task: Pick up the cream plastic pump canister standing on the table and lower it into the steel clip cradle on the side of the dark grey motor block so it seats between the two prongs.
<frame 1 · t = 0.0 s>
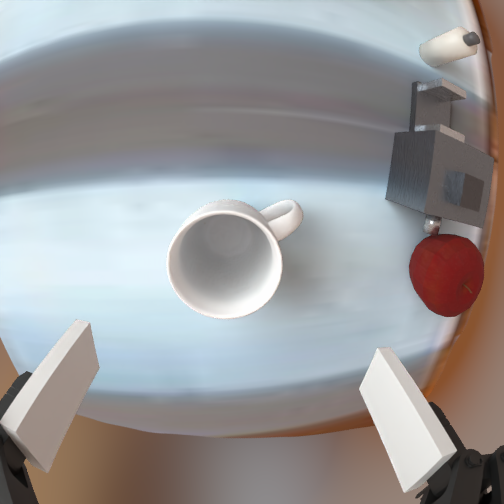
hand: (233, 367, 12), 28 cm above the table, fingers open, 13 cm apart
apple: (422, 256, 41), on the table, touching motor
motor: (421, 174, 37), on the table
pump: (429, 55, 30), on the table
mug: (235, 228, 39), on the table
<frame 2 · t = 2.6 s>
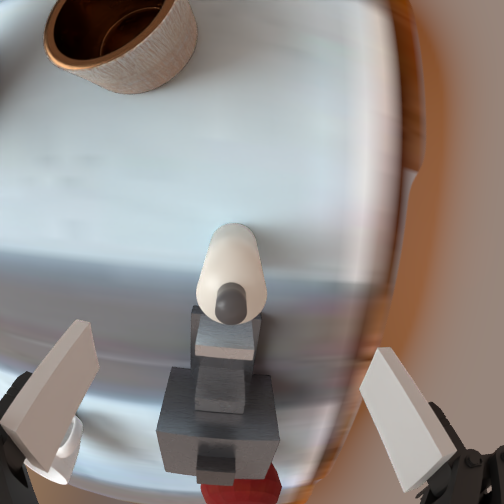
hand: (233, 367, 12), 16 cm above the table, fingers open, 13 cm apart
planter: (143, 46, 20), on the table
apple: (239, 446, 38), on the table, touching motor
motor: (218, 398, 34), on the table
pump: (233, 245, 27), on the table
mug: (66, 411, 36), on the table
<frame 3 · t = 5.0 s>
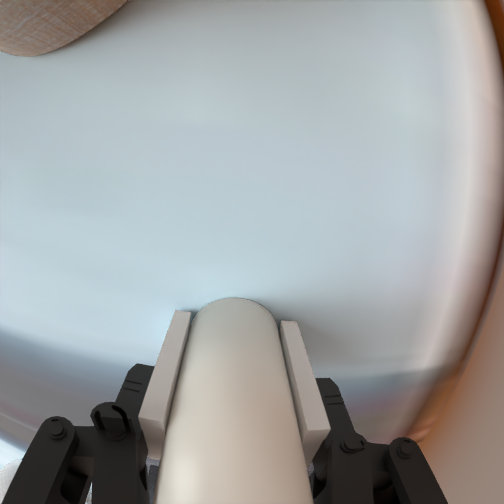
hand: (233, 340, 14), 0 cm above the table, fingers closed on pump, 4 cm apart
pump: (234, 336, 14), on the table, touching gripper
mug: (39, 471, 22), on the table
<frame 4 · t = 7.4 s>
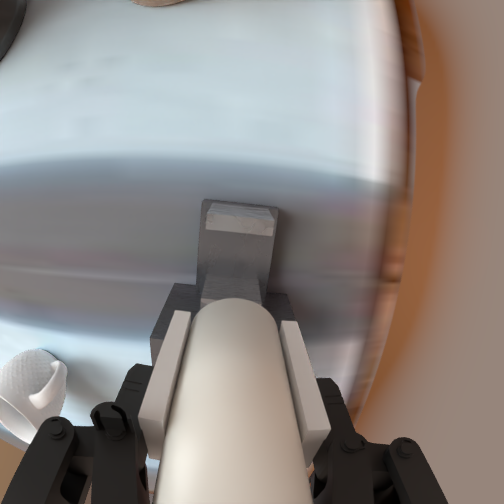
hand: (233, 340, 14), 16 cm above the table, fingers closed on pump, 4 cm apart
motor: (226, 328, 32), on the table
pump: (233, 336, 14), point 15 cm above the table, touching gripper
mug: (52, 363, 33), on the table
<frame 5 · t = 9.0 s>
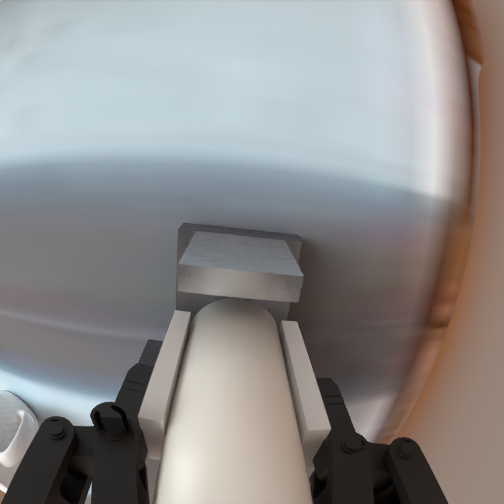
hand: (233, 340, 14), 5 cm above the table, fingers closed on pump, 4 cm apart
motor: (222, 393, 22), on the table
pump: (233, 336, 14), point 5 cm above the table, touching gripper
mug: (22, 406, 24), on the table
when the fingers open (4 cm above the table, at t = 10.1 s): pump drops 2 cm, resting on motor.
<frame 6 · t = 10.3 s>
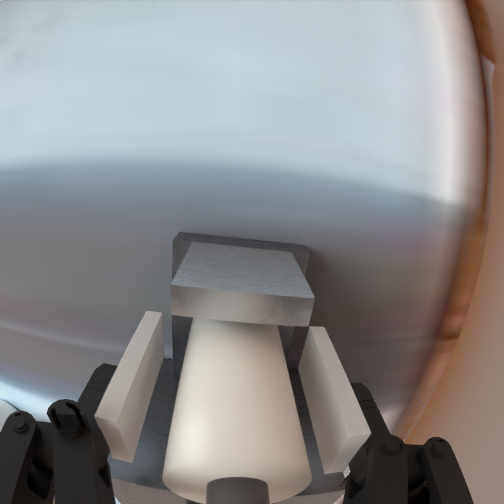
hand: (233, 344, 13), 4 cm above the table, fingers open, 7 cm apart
motor: (223, 410, 20), on the table
pump: (234, 317, 16), point 2 cm above the table, touching motor
mug: (18, 415, 22), on the table
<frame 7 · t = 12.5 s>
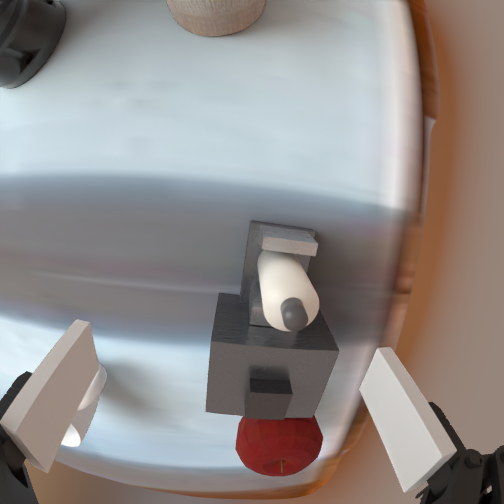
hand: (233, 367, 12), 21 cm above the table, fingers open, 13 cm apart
planter: (218, 4, 24), on the table
apple: (273, 400, 40), on the table, touching motor
motor: (262, 333, 36), on the table
pump: (277, 263, 31), point 2 cm above the table, touching motor
mug: (85, 365, 38), on the table
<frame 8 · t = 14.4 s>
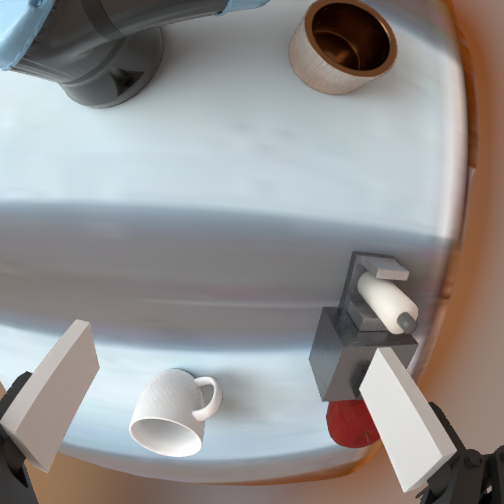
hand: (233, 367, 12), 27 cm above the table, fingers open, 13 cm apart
planter: (327, 59, 30), on the table
apple: (347, 388, 48), on the table, touching motor
motor: (349, 335, 44), on the table
pump: (371, 283, 39), point 2 cm above the table, touching motor
mug: (182, 379, 45), on the table
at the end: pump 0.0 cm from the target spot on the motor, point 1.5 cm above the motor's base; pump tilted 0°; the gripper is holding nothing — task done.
